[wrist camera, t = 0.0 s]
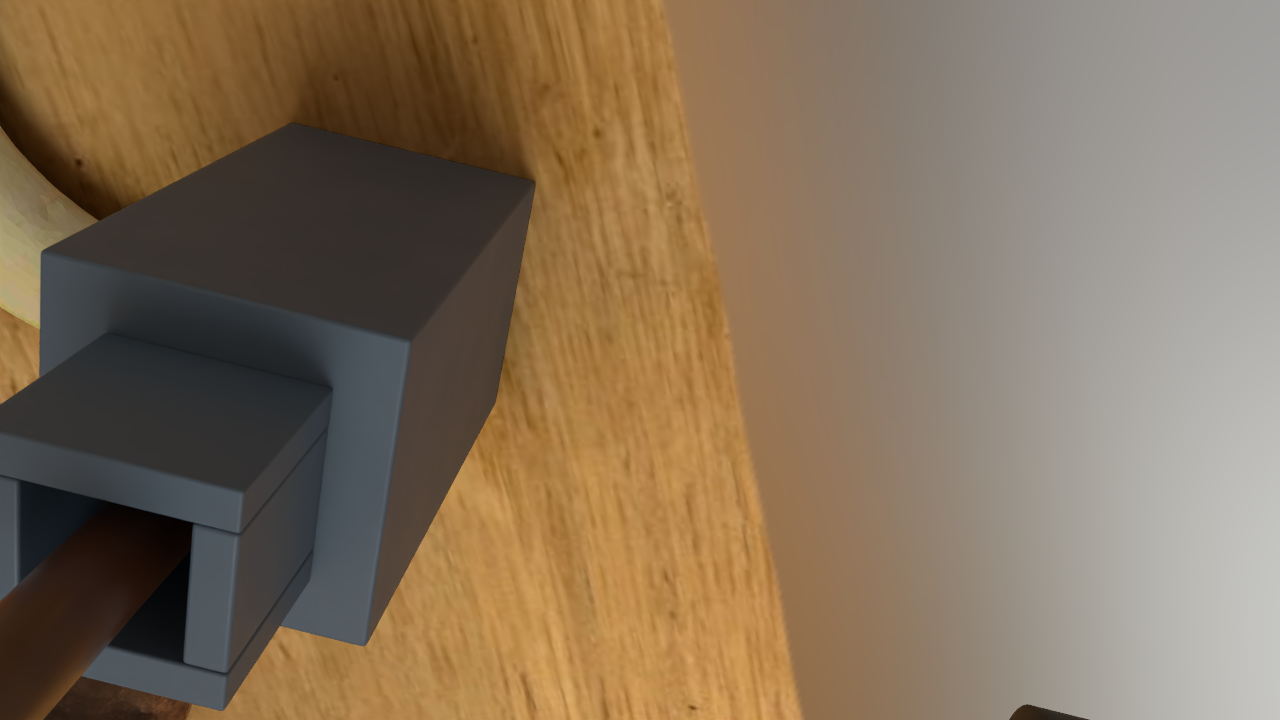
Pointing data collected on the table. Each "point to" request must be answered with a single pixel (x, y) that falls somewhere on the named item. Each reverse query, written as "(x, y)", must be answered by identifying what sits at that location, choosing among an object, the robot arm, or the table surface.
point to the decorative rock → (115, 704)
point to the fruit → (29, 229)
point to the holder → (265, 390)
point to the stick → (81, 603)
